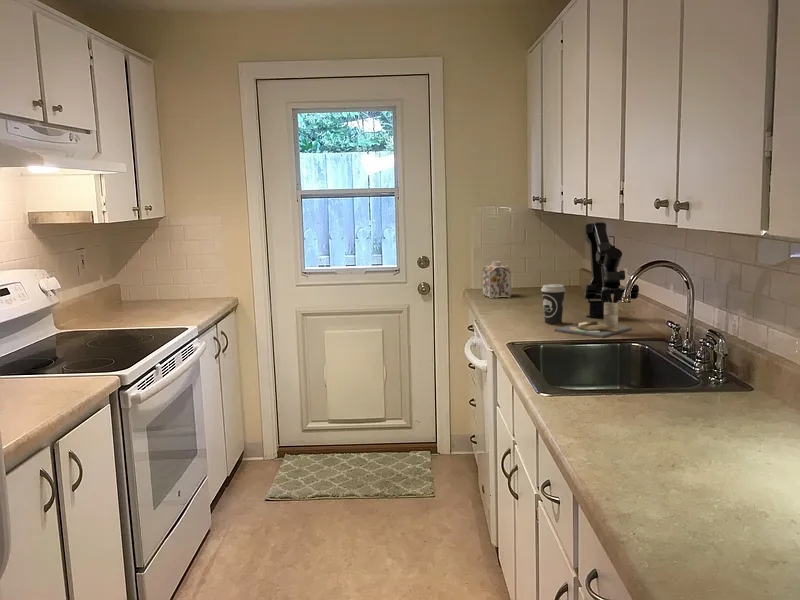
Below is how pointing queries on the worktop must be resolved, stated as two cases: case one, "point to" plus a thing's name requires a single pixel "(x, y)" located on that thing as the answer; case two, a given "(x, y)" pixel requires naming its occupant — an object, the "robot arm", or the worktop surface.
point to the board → (597, 333)
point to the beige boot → (609, 319)
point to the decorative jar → (496, 280)
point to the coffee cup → (553, 303)
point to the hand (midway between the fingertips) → (613, 310)
